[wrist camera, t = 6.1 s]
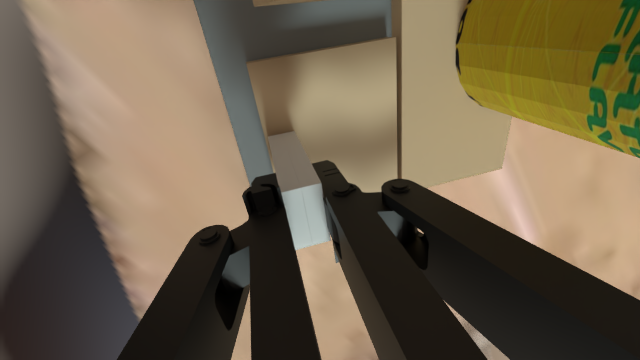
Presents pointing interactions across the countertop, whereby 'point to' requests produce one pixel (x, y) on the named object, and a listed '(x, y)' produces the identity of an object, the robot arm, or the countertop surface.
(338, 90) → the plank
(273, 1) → the tan flat block
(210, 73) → the countertop surface
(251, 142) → the underlay
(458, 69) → the beverage can
